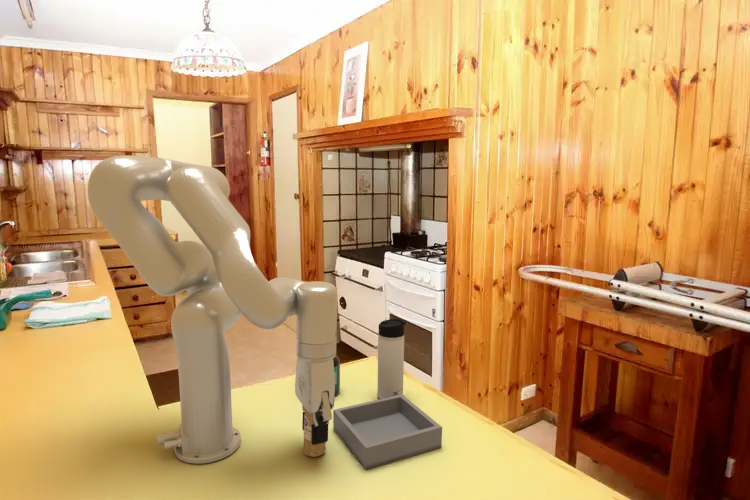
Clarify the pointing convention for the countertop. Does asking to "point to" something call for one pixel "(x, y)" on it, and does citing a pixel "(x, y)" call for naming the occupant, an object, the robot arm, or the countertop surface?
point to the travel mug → (390, 358)
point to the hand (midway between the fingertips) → (314, 435)
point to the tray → (386, 431)
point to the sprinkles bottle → (308, 447)
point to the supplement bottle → (336, 374)
